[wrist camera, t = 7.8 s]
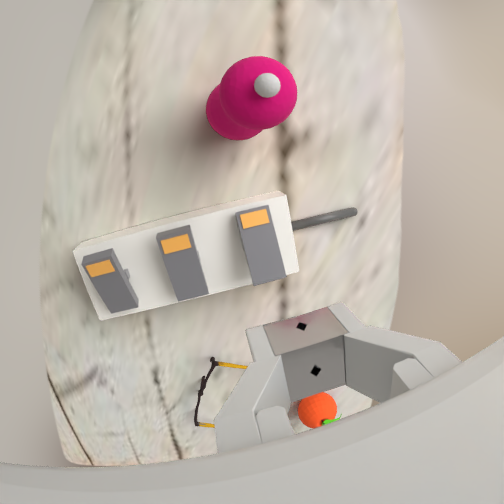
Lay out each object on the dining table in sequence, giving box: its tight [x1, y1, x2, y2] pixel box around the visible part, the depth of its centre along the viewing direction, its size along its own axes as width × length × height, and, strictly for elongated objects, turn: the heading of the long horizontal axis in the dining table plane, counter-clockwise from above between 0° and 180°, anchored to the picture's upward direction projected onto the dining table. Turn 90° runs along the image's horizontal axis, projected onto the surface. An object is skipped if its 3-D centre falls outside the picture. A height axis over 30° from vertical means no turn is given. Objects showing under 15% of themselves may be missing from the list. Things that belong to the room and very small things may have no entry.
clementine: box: [298, 392, 341, 428], centre depth 52 cm, size 8×7×7 cm
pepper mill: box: [206, 56, 297, 140], centre depth 28 cm, size 7×7×20 cm
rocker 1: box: [81, 248, 139, 314], centre depth 35 cm, size 8×4×2 cm, turn 13°
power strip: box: [72, 191, 357, 321], centre depth 40 cm, size 10×38×5 cm, turn 102°
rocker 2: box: [156, 225, 209, 302], centre depth 36 cm, size 8×4×2 cm, turn 12°
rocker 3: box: [235, 205, 287, 286], centre depth 37 cm, size 8×4×2 cm, turn 11°
